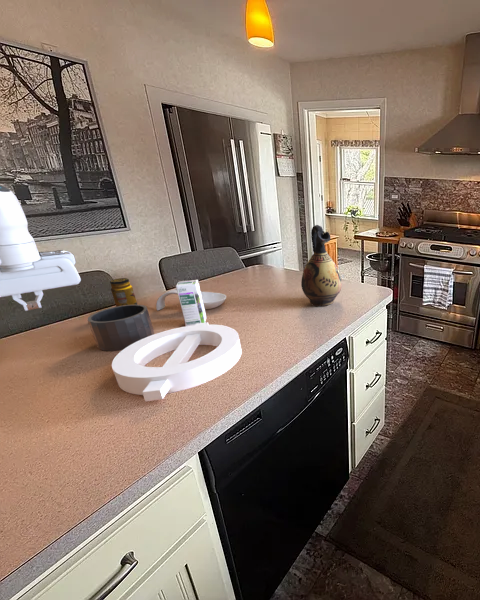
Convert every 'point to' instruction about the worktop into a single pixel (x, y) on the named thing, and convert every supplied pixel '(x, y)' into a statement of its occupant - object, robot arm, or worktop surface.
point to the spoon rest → (208, 298)
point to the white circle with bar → (176, 360)
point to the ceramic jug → (320, 272)
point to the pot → (120, 326)
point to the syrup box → (191, 302)
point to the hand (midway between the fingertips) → (33, 308)
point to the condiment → (122, 292)
